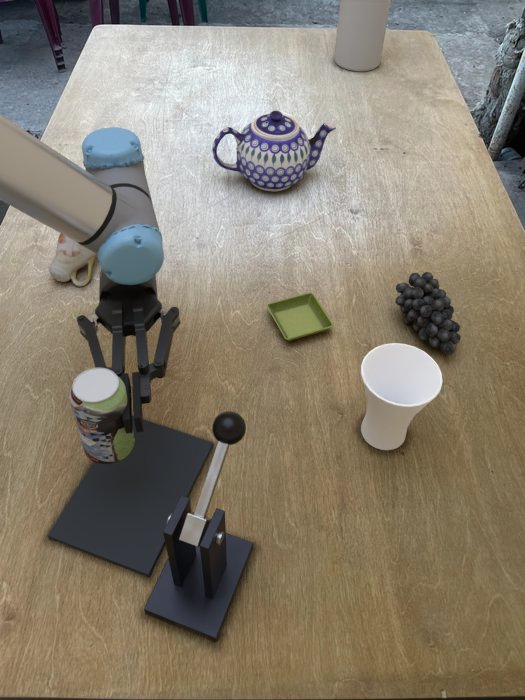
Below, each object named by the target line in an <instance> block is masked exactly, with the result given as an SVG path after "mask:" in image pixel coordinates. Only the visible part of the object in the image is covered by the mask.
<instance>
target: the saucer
mask: <svg viewBox="0 0 525 700" xmlns="http://www.w3.org/2000/svg"><path fill="white" fill-rule="evenodd" d="M265 306H266V308H267V310H268V312H269V313H270V316H271V317H272V319H273V320H274V322H275V324H276V325H277V328H278V329H279V331H280V333H281V334H282V336H283V338H284V339H285V341H289V342H290V341H294V340H297V339H300V338H304V337H308V336H311V335H315V334H318V333H322V332H325V331H328V330H331V329H332V328H333V327H335V324H334V322H333V321H332V319H331V317H329V315H328V314H327V312H326V309H324V307H323V306H322V304H321V302H320V301H319V299H318V298H317V296H316V295H315V294H314V292H312V291H309V292H305V293H302V294H298V295H294V296H291V297H287V298H282V299H280V300H276V301H272V302H268V303H266V305H265Z"/></svg>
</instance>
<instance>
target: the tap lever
mask: <svg viewBox="0 0 525 700" xmlns="http://www.w3.org/2000/svg"><path fill="white" fill-rule="evenodd" d="M211 429H212V434H213V437H214V438H215V440H216V441H217V444H216V447H215V450H214V452H213V456H212V459H211V462H210V465H209V468H208V470H207V474H206V477H205V479H204V482H203V485H202V489H201V492H200V494H199V498H198V501H197V504H196V507H195V510H194V511H193V512H192V511H191V512H192V513H187V516H186V519H185V521H184V524H183V527H182V530H181V533H180V536H179V540H181V541H184V542H186V543H189V544H192V545H195V546H197V547H198V546H200V543H201V541H202V539H203V537H204V535H205V532H206V530H207V528H208V526H209V523H210V521H211V519H212V517H208V516H207V514H208V512H209V510H210V509H209V508H210V506H211V502H212V500H213V497H214V494H215V491H216V487H217V485H218V481H219V479H220V475H221V473H222V470H223V467H224V463H225V460H226V457H227V454H228V451H229V448H230V446H232V445H233V446H234V445H236V444H238V443H239V442H241V441H242V440H243V439H244V437H245V434H246V431H247V425H246V421H245V419H244V418H243V416H242V415H241V414H239V413H238V412H235V411H232V410H228V411H226V410H225V411H223V412H221V413H219V414H218V415H217V416H216V417H215V418H214V420H213V422H212V427H211Z"/></svg>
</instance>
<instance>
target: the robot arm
mask: <svg viewBox="0 0 525 700" xmlns="http://www.w3.org/2000/svg"><path fill="white" fill-rule="evenodd" d="M81 153H82V159H83V161H82V163H83V167H84V168H83V167H81V166H79V165H78V164H76V162H74V161H72V160H71V159H69V158H68V157H66V156H65V155H63V154H62V153H61V152H58V151H57V150H56V149H54V148H52V147H51V146H49V145H48V144H46V143H45V142H43V141H42V140H40V139H39V138H37V137H36V136H34V135H33V134H32V133H30V132H28V131H27V130H25V129H24V128H23V127H20V126H19V125H17V124H16V123H14V122H13V121H12V120H10V119H9V118H7V117H5V116H4V115H3V114H1V113H0V201H1V202H3V203H5V204H7V205H9V206H10V207H12V208H14V209H16V210H18V211H20V212H21V213H23V214H25V215H27V216H28V217H31V218H32V219H34V220H36V221H37V222H40V223H41V224H43V225H45V226H47V227H49V228H50V229H52V230H54V231H56V232H58V233H59V234H60V233H61V234H63V235H65V236H67V237H68V238H70V239H72V240H74V241H76V242H78V243H79V244H81V245H82V246H84V247H86V248H87V249H89V250H91V251H93V252H95V253H96V254H97V256H96V259H97V262H98V264H99V265H98V266H99V267H98V268H99V273H98V276H99V282H98V283H99V285H98V287H99V288H98V289H99V291H98V295H99V297H98V299H99V300H98V305H97V306H96V307H95V309H94V313H93V314H90V315H89V316H86V315H85V314H81V315H78V316H77V317H76V322H77V326H78V330H79V333H80V335H81V336H82V337H83V338H84V339H85V340H86V341H87V343H88V347H89V350H90V354H91V357H92V360H93V361H92V362H93V365H94V368H106V369H109V370H111V371H113V372H114V373H115V374H116V375H117V376H118V377H119V378H120V379H121V380H122V381H123V383H124V385H125V387H126V393H127V405H126V408H125V410H124V411H123V423H124V427H125V431H126V434H127V433H133V424H132V416H134V423H135V427H136V432H143V419H144V415H143V414H144V413H143V405H145V404H146V405H148V404H151V402H152V381H154V379H158V380H159V379H163V378H165V376H166V373H167V368H168V363H169V357H170V353H171V348H172V343H173V338H174V333H176V330H177V329H178V328H179V326H180V325H181V317H180V309H179V307H177V306H172V307H170V308H166V307H163V304H162V302H161V301H160V300H159V299H158V297H159V296H158V283H157V274H158V273H159V272H160V270H161V269H162V267H163V265H164V261H165V254H164V246H163V244H164V243H163V235H162V232H161V231H160V227H159V223H158V219H157V216H156V212H155V209H154V208H155V207H154V204H153V200H152V195H151V192H150V187H149V183H148V179H147V176H146V170H145V162H144V161H145V155H144V154H143V149H142V145H141V140H140V138H139V136H138V135H137V134H136V133H134V132H133V131H132V130H130V129H128V128H123V127H120V126H119V127H118V126H111V127H102V128H99V129H96V130H94V131H91V132H90V133H88V134H87V135H86V136H85V138H84V139H83V140H82V144H81ZM159 319H160V323H161V325H160V330H159V333H158V338H157V342H156V343H157V344H156V347H155V352H154V357H153V362H151V363H150V358H149V357H150V356H149V348H148V336H147V335H148V334H147V333H148V332H150V330H151V329H152V328H153V327H154V326H155V324H156V323H157V322H158V320H159ZM99 324H100V326H102V327H104V329H105V330H107V331H108V332H109V333H110V334H111V335H112V338H111V339H112V341H111V342H112V343H111V367H108V366H107V365H106V361H105V358H104V354H103V350H102V347H101V344H100V341H99V338H98V335H97V334H98V331H99V330H100V329H99ZM130 336H133V337H135V346H136V347H135V348H136V360H137V365H136V366H137V370H138V371H134V372H131V379H130V374H129V372H126V344H127V339H126V338H127V337H130ZM131 383H132V385H131Z"/></svg>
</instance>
